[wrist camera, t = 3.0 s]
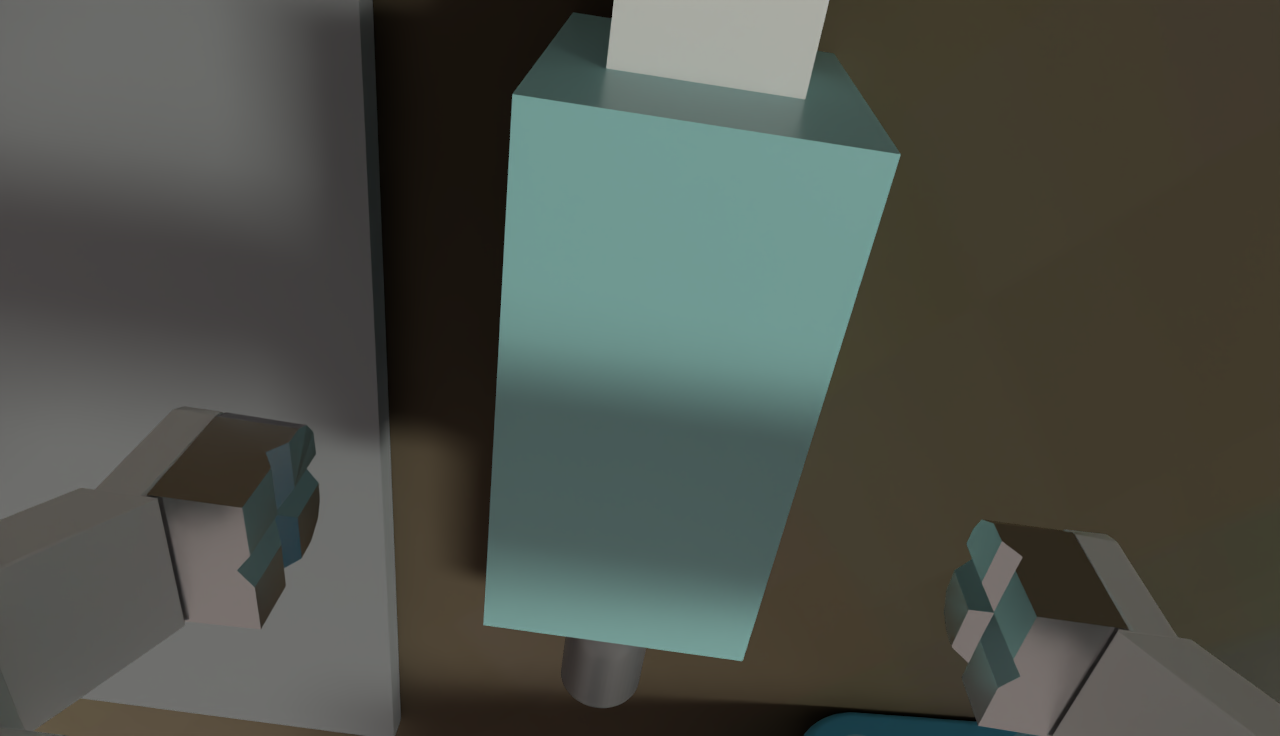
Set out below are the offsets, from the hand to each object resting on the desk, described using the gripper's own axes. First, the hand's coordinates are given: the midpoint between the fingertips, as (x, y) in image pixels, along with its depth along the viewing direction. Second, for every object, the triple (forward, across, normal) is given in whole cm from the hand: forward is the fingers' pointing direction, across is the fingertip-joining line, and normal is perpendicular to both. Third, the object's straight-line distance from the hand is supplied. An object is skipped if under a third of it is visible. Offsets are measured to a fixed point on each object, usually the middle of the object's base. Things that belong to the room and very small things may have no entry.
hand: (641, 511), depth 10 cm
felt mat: (+6, +11, +4) cm, 13 cm away
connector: (+6, 0, -1) cm, 6 cm away
